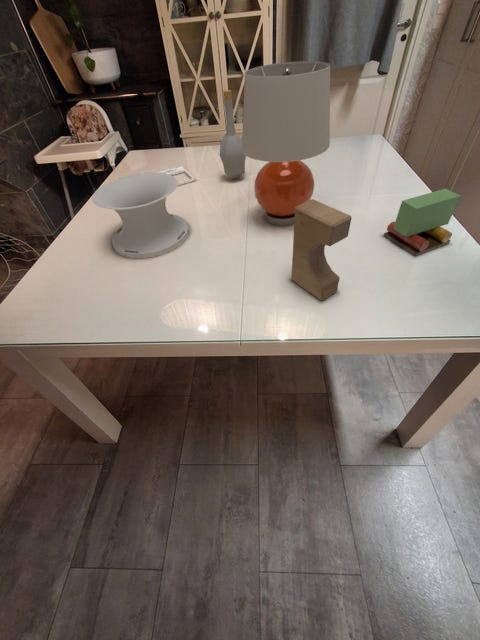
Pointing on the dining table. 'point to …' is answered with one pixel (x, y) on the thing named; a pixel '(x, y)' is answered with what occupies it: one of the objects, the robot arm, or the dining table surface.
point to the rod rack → (419, 239)
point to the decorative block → (316, 246)
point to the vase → (143, 214)
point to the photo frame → (177, 171)
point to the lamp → (285, 132)
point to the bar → (426, 212)
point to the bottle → (231, 143)
